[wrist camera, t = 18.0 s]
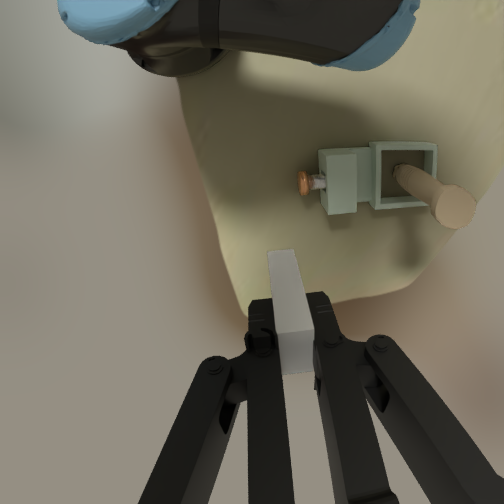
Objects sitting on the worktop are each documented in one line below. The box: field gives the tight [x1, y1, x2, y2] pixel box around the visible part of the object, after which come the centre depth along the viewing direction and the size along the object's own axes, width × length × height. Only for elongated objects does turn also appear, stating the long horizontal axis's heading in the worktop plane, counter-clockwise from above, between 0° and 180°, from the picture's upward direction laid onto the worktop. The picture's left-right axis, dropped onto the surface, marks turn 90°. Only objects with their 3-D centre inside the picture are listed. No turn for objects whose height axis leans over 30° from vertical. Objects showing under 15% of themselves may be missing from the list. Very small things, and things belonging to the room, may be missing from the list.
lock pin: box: [297, 171, 326, 195], centre depth 39 cm, size 3×7×3 cm, turn 97°
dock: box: [318, 141, 438, 215], centre depth 39 cm, size 10×18×5 cm, turn 97°
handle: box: [392, 163, 476, 229], centre depth 34 cm, size 5×6×15 cm
